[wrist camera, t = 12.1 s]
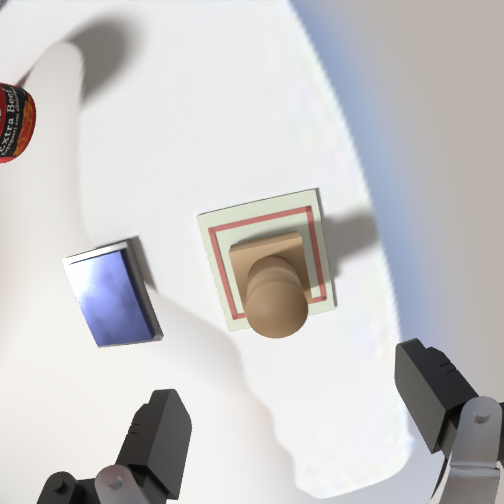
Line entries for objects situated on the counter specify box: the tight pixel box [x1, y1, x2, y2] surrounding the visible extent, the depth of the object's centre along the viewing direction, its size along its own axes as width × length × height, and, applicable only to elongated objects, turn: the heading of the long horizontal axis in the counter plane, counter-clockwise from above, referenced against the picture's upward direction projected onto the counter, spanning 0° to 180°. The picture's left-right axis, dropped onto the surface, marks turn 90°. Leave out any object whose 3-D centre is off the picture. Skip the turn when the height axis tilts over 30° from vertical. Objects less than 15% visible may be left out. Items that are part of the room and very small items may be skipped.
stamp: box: [229, 231, 313, 338], centre depth 20 cm, size 5×5×8 cm
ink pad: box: [63, 240, 164, 348], centre depth 24 cm, size 9×7×1 cm
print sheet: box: [197, 189, 335, 332], centre depth 24 cm, size 10×9×1 cm
